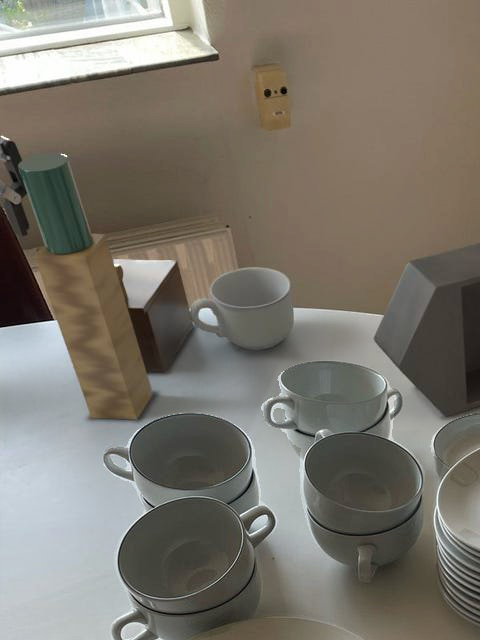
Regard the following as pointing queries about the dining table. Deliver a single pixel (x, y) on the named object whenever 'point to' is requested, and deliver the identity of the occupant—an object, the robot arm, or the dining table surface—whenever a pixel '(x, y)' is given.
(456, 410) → the planter
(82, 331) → the stand
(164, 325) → the chest
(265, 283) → the teacup
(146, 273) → the lid
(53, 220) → the green cylinder
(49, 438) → the dining table surface
